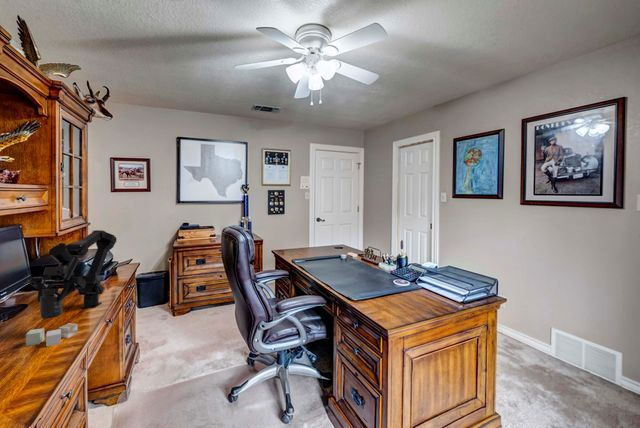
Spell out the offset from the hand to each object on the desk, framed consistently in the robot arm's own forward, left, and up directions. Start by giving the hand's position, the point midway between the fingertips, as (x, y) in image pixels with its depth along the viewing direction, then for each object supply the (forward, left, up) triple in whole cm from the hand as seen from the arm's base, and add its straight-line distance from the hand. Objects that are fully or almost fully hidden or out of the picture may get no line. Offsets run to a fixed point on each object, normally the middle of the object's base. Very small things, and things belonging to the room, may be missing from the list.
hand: (48, 301), depth 121 cm
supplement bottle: (-1, 0, -7) cm, 7 cm away
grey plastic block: (+9, +9, -13) cm, 18 cm away
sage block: (+9, +2, -13) cm, 16 cm away
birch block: (+3, +10, -13) cm, 16 cm away
